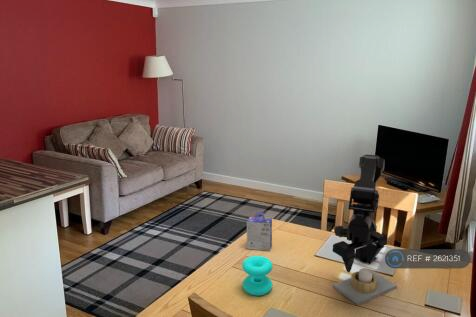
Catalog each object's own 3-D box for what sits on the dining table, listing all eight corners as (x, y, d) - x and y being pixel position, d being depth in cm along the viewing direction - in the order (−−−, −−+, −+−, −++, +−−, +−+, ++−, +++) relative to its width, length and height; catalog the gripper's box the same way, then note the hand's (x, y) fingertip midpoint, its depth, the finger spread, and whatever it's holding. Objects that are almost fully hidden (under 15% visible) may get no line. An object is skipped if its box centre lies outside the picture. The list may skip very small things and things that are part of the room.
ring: (363, 276, 131) (364, 269, 131) (381, 288, 124) (382, 280, 124) (345, 283, 128) (346, 275, 127) (363, 295, 121) (364, 287, 120)
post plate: (370, 272, 136) (372, 257, 134) (396, 288, 126) (398, 271, 125) (332, 287, 127) (333, 271, 126) (357, 305, 118) (358, 288, 117)
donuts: (260, 251, 132) (278, 263, 124) (260, 276, 134) (278, 290, 126) (236, 259, 127) (253, 273, 119) (237, 285, 129) (253, 301, 121)
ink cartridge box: (272, 245, 157) (272, 212, 153) (270, 251, 152) (271, 217, 148) (248, 243, 159) (248, 210, 155) (246, 249, 154) (246, 216, 150)
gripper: (363, 209, 130) (360, 250, 134) (321, 220, 122) (319, 264, 126) (390, 220, 121) (386, 264, 125) (347, 234, 112) (344, 280, 116)
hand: (358, 267), depth 123 cm, fingers open, 9 cm apart
